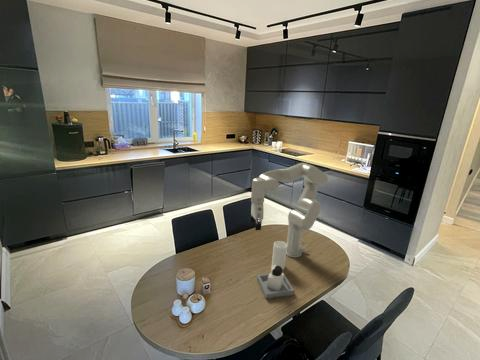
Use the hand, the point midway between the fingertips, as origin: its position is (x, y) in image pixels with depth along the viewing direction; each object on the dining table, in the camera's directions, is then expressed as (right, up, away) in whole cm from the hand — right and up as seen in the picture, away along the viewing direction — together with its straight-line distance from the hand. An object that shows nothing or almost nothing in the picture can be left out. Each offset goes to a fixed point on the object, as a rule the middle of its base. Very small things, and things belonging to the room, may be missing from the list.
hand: (255, 226), depth 153 cm
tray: (+10, -33, -8) cm, 35 cm away
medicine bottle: (+10, -32, -8) cm, 35 cm away
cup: (+15, -28, +10) cm, 33 cm away
